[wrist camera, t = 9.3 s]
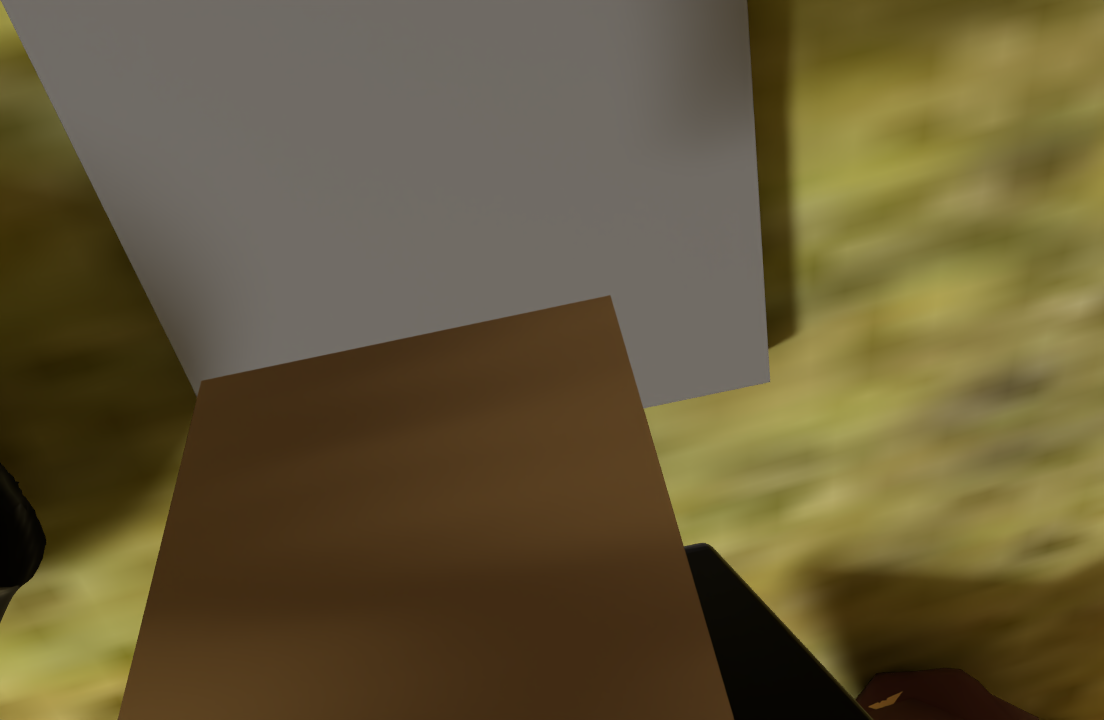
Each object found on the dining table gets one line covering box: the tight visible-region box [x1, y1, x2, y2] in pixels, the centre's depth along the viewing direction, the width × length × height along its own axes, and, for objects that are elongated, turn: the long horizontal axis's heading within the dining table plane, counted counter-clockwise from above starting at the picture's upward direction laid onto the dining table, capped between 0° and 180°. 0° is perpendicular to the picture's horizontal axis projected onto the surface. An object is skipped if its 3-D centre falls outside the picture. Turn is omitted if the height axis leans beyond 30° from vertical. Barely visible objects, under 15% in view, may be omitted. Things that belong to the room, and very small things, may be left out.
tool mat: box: [1, 0, 770, 408], centre depth 17 cm, size 10×10×1 cm
